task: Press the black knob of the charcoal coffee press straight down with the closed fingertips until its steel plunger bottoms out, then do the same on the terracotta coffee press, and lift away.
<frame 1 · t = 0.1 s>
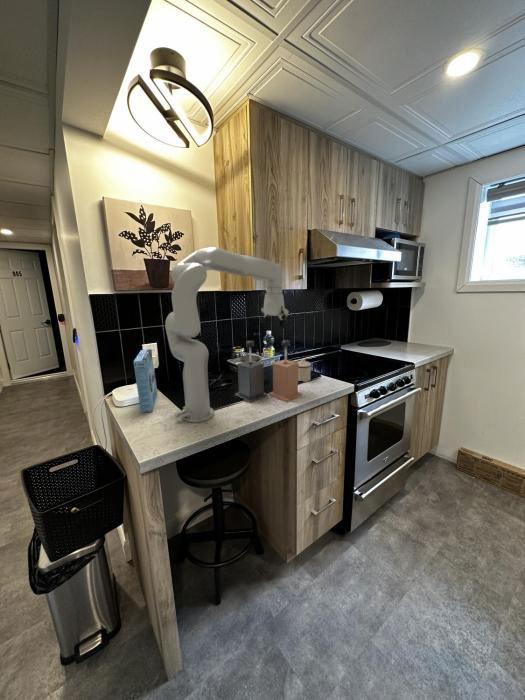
hand: (274, 326, 134), 31 cm above the counter, tool pointing down, fingers open, 9 cm apart
teacup with lid: (301, 378, 152), on the counter
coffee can: (250, 383, 146), on the counter
plunger a: (250, 359, 125), point 18 cm above the counter, slide at 0.0 cm
press a: (251, 395, 130), on the counter
gum box: (149, 403, 124), on the counter
press b: (285, 395, 130), on the counter
plunger b: (285, 359, 125), point 18 cm above the counter, slide at 0.0 cm
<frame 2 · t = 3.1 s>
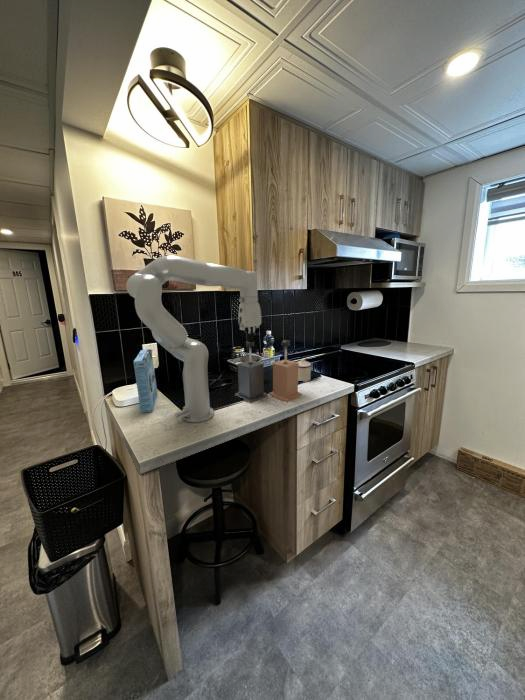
hand: (250, 341, 123), 27 cm above the counter, tool pointing down, fingers closed
plunger a: (250, 359, 125), point 18 cm above the counter, slide at 0.0 cm, touching gripper
everything else where it was.
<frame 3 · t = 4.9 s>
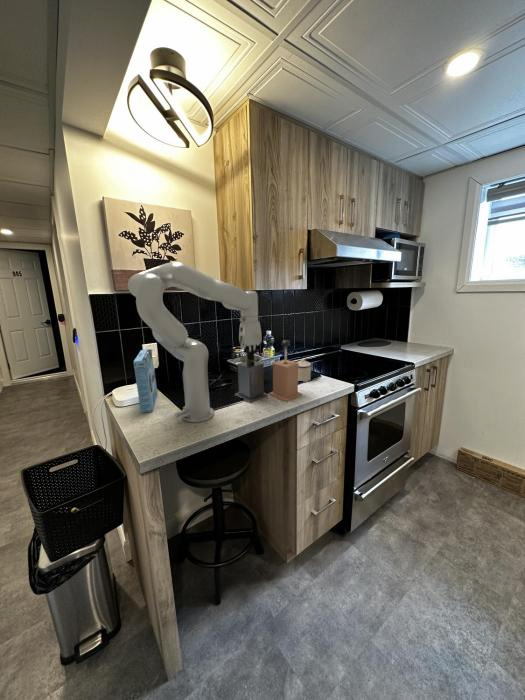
hand: (250, 358, 125), 18 cm above the counter, tool pointing down, fingers closed
plunger a: (250, 376, 127), point 10 cm above the counter, slide at 8.2 cm, touching gripper
everything else where it was.
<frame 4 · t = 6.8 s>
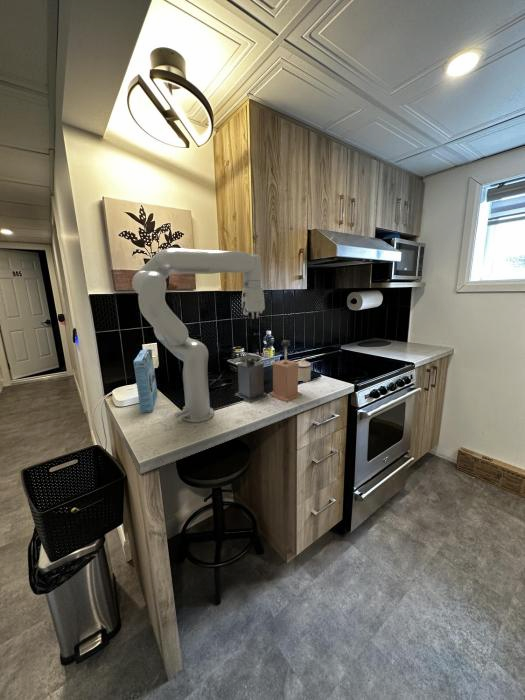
hand: (253, 327, 121), 33 cm above the counter, tool pointing down, fingers closed
plunger a: (250, 376, 127), point 10 cm above the counter, slide at 8.1 cm
everything else where it was.
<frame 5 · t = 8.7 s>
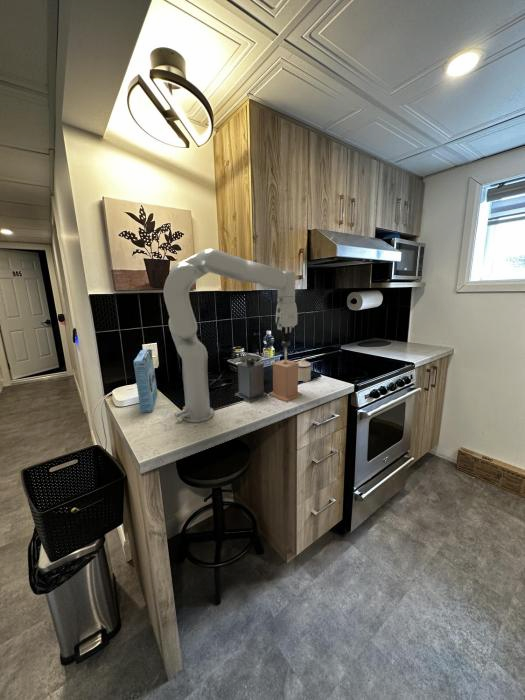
hand: (286, 341, 123), 27 cm above the counter, tool pointing down, fingers closed
plunger b: (285, 359, 125), point 18 cm above the counter, slide at 0.1 cm, touching gripper
everything else where it was.
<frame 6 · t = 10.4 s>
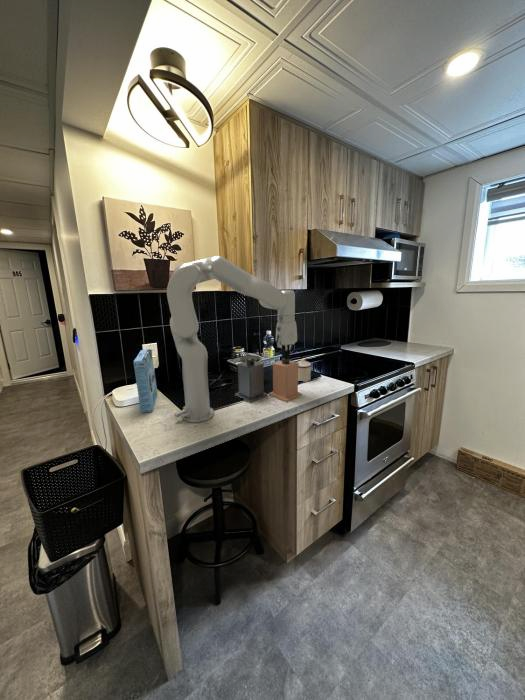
hand: (286, 358, 125), 19 cm above the counter, tool pointing down, fingers closed
plunger b: (285, 375, 127), point 10 cm above the counter, slide at 8.2 cm, touching gripper
everything else where it was.
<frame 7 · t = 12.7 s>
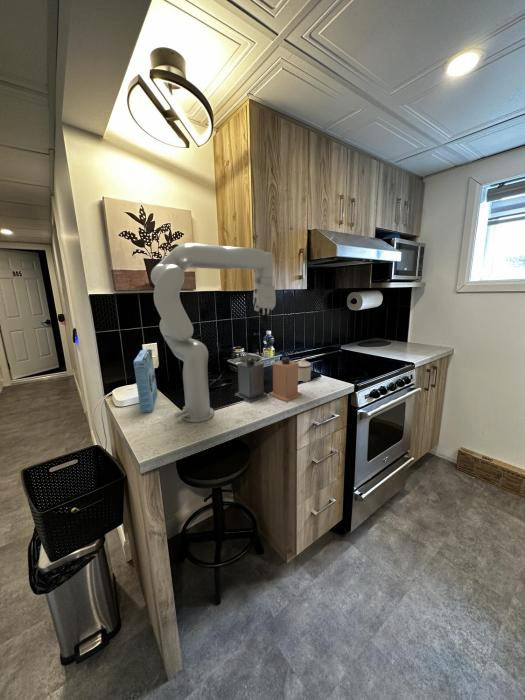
hand: (264, 323, 124), 34 cm above the counter, tool pointing down, fingers closed
plunger b: (285, 375, 127), point 10 cm above the counter, slide at 8.1 cm
everything else where it was.
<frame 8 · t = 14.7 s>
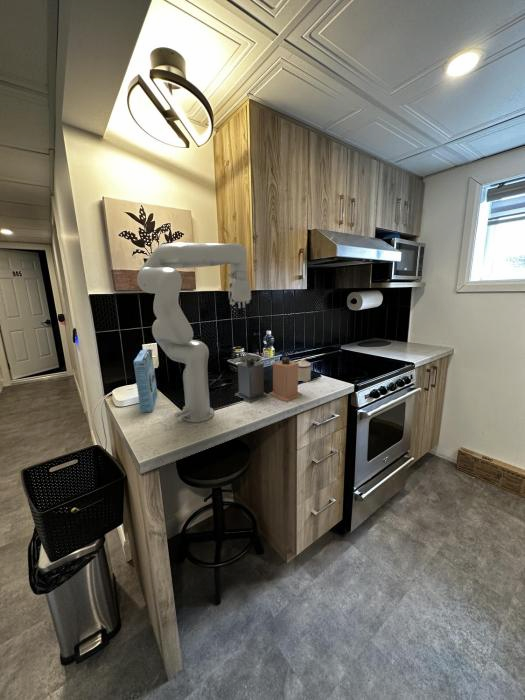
hand: (240, 316, 128), 37 cm above the counter, tool pointing down, fingers closed
nothing on the counter moved.
at the end: plunger a slide at 8.1 cm; plunger b slide at 8.1 cm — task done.
